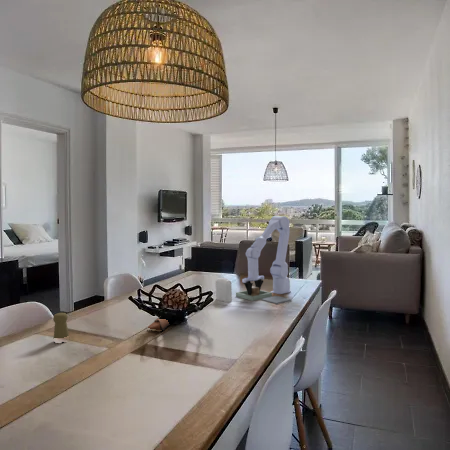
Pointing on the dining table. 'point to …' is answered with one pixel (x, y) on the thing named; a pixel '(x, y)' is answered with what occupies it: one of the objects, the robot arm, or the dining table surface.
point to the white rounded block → (223, 290)
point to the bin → (245, 295)
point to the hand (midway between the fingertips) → (253, 293)
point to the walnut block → (255, 291)
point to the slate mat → (276, 299)
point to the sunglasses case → (159, 324)
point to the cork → (60, 325)
